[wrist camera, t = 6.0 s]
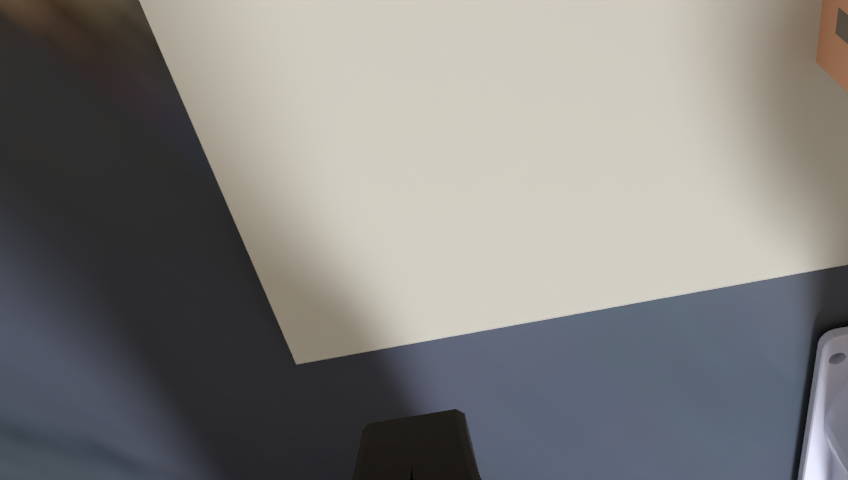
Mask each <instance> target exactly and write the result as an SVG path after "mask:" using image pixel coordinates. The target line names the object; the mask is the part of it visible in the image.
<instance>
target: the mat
mask: <svg viewBox="0 0 848 480" xmlns="http://www.w3.org/2000/svg"><path fill="white" fill-rule="evenodd" d="M139 1H140V4H141V6H142V8H143V11H144V13H145V15H146V18H147V20H148V22H149V25H150V27H151V29H152V32H153V34H154V36H155V38H156V41H157V43H158V45H159V48H160V50H161V52H162V55H163V57H164V59H165V62H166V64H167V66H168V69H169V71H170V73H171V76H172V78H173V80H174V82H175V85H176V87H177V89H178V92H179V94H180V96H181V99H182V101H183V103H184V106H185V108H186V110H187V113H188V115H189V117H190V120H191V122H192V124H193V126H194V129H195V131H196V133H197V136H198V138H199V140H200V143H201V145H202V147H203V150H204V152H205V154H206V157H207V159H208V161H209V164H210V166H211V168H212V170H213V173H214V175H215V177H216V180H217V182H218V184H219V187H220V189H221V191H222V194H223V196H224V198H225V201H226V203H227V205H228V208H229V210H230V212H231V214H232V217H233V219H234V221H235V224H236V226H237V228H238V231H239V233H240V235H241V238H242V240H243V242H244V245H245V247H246V249H247V252H248V254H249V256H250V258H251V261H252V263H253V265H254V268H255V270H256V272H257V275H258V277H259V279H260V282H261V284H262V286H263V289H264V291H265V293H266V296H267V298H268V300H269V302H270V305H271V307H272V309H273V312H274V314H275V316H276V319H277V321H278V323H279V326H280V328H281V330H282V333H283V335H284V337H285V340H286V342H287V344H288V346H289V349H290V351H291V353H292V356H293V358H294V360H295V363H296V364H302V363H307V362H313V361H318V360H324V359H330V358H335V357H341V356H346V355H352V354H357V353H363V352H368V351H374V350H379V349H385V348H390V347H396V346H401V345H407V344H412V343H418V342H423V341H429V340H434V339H440V338H445V337H451V336H456V335H462V334H467V333H473V332H478V331H484V330H490V329H495V328H501V327H506V326H512V325H517V324H523V323H528V322H534V321H539V320H545V319H550V318H556V317H561V316H567V315H572V314H578V313H583V312H589V311H594V310H600V309H605V308H611V307H616V306H622V305H627V304H633V303H638V302H644V301H650V300H655V299H661V298H666V297H672V296H677V295H683V294H688V293H694V292H699V291H705V290H710V289H716V288H721V287H727V286H732V285H738V284H743V283H749V282H754V281H760V280H765V279H771V278H776V277H782V276H787V275H793V274H798V273H804V272H810V271H815V270H821V269H826V268H832V267H837V266H843V265H848V92H847V91H846V90H845V89H844V88H843V87H841V86H840V85H839V84H838V83H837V82H836V81H835V80H834V79H833V78H832V77H831V76H830V75H829V74H828V73H827V72H826V71H825V70H824V69H823V68H822V67H821V66H820V65H819V64H818V63H817V62H816V57H817V48H818V38H819V29H820V20H821V11H822V1H823V0H139Z"/></svg>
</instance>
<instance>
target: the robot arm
mask: <svg viewBox="0 0 848 480" xmlns="http://www.w3.org/2000/svg"><path fill="white" fill-rule="evenodd" d="M352 480H481V478H480V475H479V472H478V468H477V463H476V459H475V455H474V451H473V447H472V442H471V438H470V434H469V430H468V426H467V421H466V417H465V413H462V412H460V411H458V410H456V409H454V410H448V411H442V412H436V413H430V414H424V415H418V416H412V417H406V418H400V419H394V420H388V421H383V422H377V423H371V424H368V425H367V427H366V428H365V429H364V430H363V433H362V438H361V444H360V449H359V454H358V458H357V462H356V467H355V471H354V475H353V479H352ZM798 480H848V327H842V328H837V329H833V330H830V331H828V332H826V333H824V334H823V336H822V337H821V338H820V340H819V342H818V347H817V354H816V361H815V367H814V374H813V381H812V387H811V394H810V400H809V407H808V414H807V420H806V427H805V434H804V440H803V447H802V454H801V460H800V467H799V474H798Z"/></svg>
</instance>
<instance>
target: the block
mask: <svg viewBox="0 0 848 480" xmlns="http://www.w3.org/2000/svg"><path fill="white" fill-rule="evenodd" d="M816 62H817V63H818V64H819V65H820V66H821V67H822V68H823V69H824V70H825V71H826V72H827V73H828V74H829V75H830V76H831V77H832V78H833V79H834V80H835V81H836V82H837V83H838V84H839V85H840V86H841V87H843V88H844V89H845V90H846V91H847V92H848V0H823V1H822V11H821V20H820V29H819V38H818V48H817V57H816Z"/></svg>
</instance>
